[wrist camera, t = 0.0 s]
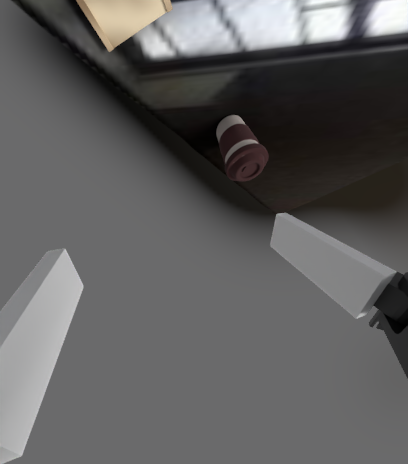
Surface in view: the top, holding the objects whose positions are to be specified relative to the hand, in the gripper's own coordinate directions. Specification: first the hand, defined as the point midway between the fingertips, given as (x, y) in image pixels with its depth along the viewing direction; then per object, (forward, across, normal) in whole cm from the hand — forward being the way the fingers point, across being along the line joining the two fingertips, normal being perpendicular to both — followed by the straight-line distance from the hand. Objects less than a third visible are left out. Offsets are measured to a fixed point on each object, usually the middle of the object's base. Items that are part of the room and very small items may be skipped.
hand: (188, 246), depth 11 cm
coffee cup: (+39, +21, +8) cm, 45 cm away
